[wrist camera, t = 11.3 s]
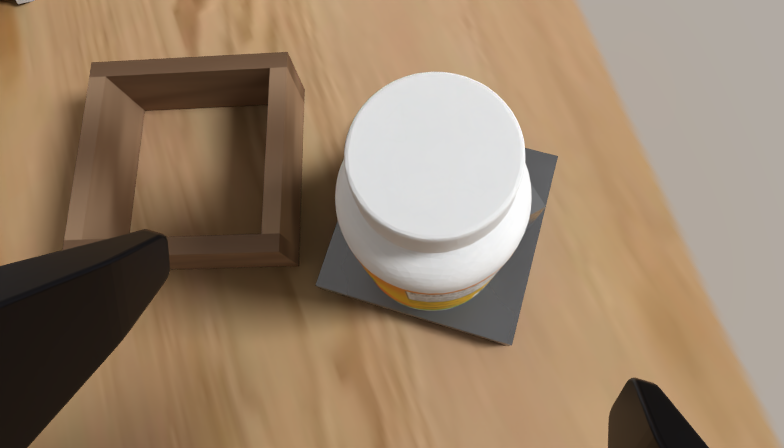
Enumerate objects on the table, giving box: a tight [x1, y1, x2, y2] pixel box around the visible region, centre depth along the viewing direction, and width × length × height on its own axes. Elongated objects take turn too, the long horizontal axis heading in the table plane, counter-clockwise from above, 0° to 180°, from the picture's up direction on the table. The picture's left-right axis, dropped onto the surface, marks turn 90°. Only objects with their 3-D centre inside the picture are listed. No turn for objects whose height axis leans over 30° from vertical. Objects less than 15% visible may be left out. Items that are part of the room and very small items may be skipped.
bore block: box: [63, 52, 305, 269], centre depth 21 cm, size 8×8×3 cm
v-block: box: [316, 148, 558, 346], centre depth 20 cm, size 8×8×4 cm
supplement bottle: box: [335, 72, 532, 311], centre depth 16 cm, size 5×5×10 cm
